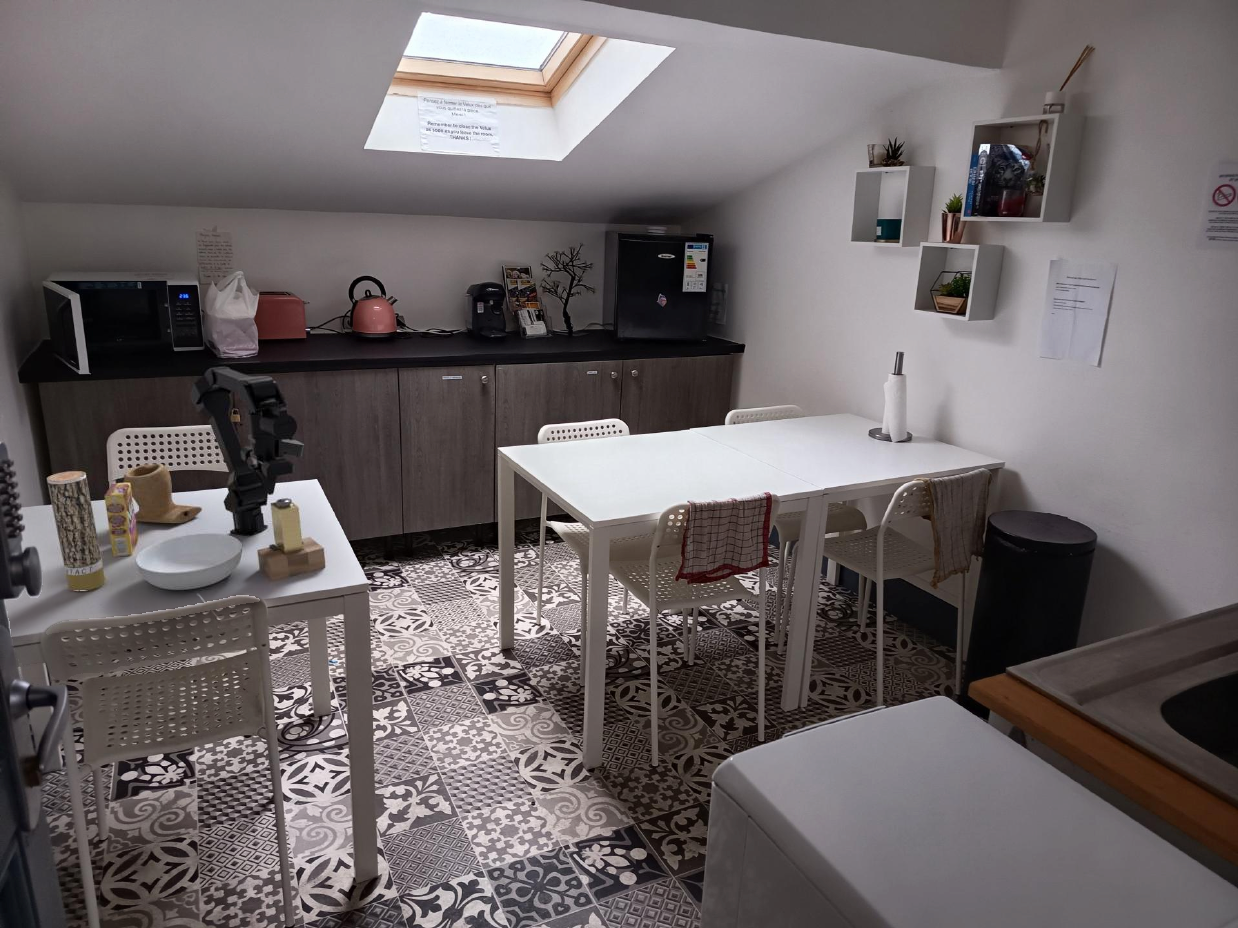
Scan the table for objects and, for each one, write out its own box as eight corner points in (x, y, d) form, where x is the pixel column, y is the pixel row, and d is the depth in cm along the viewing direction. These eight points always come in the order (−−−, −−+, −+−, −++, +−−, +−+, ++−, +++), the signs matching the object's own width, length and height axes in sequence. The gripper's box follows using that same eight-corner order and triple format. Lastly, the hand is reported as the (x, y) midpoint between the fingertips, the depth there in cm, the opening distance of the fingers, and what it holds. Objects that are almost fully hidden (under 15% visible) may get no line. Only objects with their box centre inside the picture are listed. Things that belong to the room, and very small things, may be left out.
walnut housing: (259, 570, 190) (256, 547, 188) (311, 556, 197) (309, 535, 196) (272, 582, 184) (269, 559, 182) (325, 568, 192) (323, 545, 190)
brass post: (277, 564, 192) (270, 499, 187) (294, 559, 195) (287, 495, 190) (287, 573, 188) (279, 506, 183) (304, 568, 190) (298, 502, 185)
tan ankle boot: (120, 526, 212) (110, 470, 208) (153, 510, 223) (145, 456, 219) (172, 532, 209) (164, 475, 205) (204, 515, 220) (196, 461, 216)
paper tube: (79, 579, 184) (58, 471, 176) (111, 578, 184) (92, 471, 176) (62, 593, 177) (39, 481, 169) (96, 592, 178) (74, 481, 170)
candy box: (134, 555, 196) (123, 494, 191) (113, 557, 195) (101, 495, 190) (140, 540, 204) (130, 481, 199) (120, 543, 202) (109, 483, 198)
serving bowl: (135, 608, 172) (130, 578, 170) (145, 567, 190) (140, 539, 188) (246, 592, 180) (242, 562, 178) (245, 554, 198) (241, 527, 196)
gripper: (313, 434, 193) (319, 497, 198) (283, 417, 206) (289, 477, 211) (264, 442, 186) (271, 508, 191) (236, 424, 199) (244, 486, 204)
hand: (270, 494), depth 200 cm, fingers closed
